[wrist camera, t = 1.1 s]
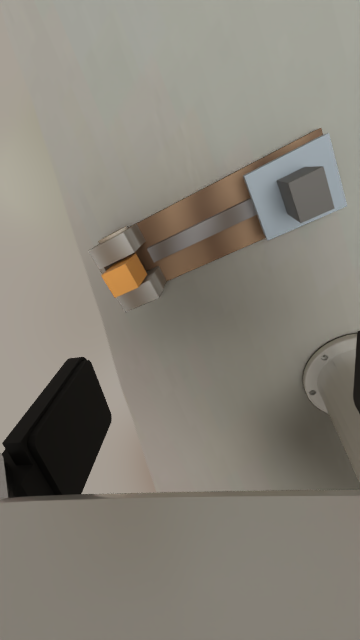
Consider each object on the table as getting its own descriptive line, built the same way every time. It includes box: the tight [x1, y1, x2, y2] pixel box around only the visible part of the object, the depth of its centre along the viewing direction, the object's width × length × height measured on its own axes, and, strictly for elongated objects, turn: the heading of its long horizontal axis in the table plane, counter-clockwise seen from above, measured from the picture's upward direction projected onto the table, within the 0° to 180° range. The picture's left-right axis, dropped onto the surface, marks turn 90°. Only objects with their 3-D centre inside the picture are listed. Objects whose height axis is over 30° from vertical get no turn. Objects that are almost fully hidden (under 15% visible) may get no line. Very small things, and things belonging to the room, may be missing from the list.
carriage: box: [243, 133, 347, 240], centre depth 25 cm, size 7×6×7 cm
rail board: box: [89, 128, 323, 312], centre depth 29 cm, size 23×7×6 cm, turn 116°
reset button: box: [101, 253, 147, 298], centre depth 29 cm, size 3×2×4 cm
